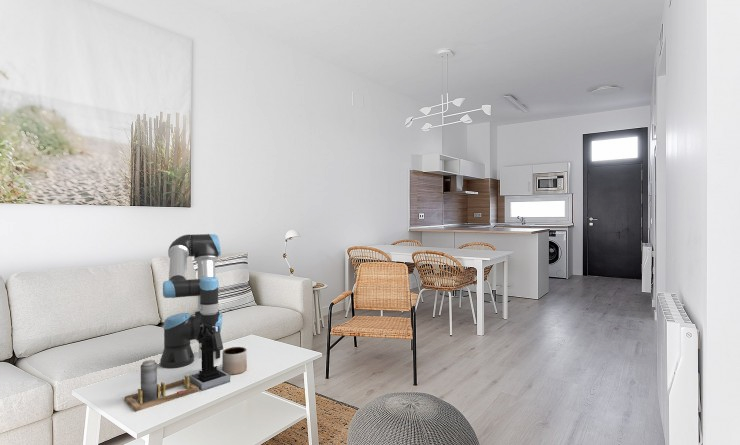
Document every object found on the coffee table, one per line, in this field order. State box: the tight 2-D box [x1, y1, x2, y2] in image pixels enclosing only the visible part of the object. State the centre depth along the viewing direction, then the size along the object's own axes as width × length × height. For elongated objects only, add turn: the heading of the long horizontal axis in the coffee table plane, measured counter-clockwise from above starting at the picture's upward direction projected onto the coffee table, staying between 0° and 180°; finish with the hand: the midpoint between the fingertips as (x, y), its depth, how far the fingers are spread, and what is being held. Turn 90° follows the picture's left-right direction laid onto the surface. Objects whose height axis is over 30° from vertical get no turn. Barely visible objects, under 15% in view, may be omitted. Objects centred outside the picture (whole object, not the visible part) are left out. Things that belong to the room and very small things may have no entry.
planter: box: [221, 346, 248, 376], centre depth 189 cm, size 11×11×10 cm
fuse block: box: [123, 359, 200, 412], centre depth 162 cm, size 13×24×15 cm, turn 137°
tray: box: [188, 367, 231, 392], centre depth 176 cm, size 13×13×3 cm
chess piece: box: [197, 334, 221, 383], centre depth 176 cm, size 8×8×20 cm
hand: (209, 361), depth 176 cm, fingers open, 13 cm apart
